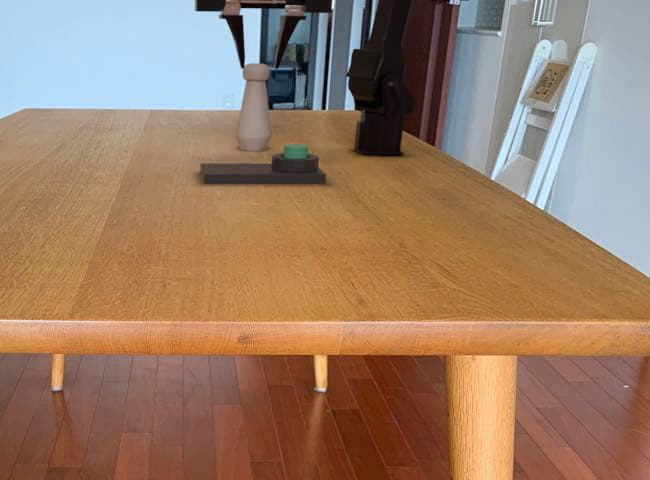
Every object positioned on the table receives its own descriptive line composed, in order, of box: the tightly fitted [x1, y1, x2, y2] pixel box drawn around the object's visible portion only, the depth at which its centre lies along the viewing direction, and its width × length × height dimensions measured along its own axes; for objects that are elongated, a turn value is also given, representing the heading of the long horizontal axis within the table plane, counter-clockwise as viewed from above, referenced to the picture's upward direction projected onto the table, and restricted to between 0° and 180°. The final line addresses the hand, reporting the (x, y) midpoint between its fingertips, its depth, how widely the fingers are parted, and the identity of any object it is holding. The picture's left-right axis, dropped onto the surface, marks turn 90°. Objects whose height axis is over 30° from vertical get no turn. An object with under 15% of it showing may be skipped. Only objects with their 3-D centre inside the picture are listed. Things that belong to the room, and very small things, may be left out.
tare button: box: [283, 143, 309, 159], centre depth 108 cm, size 3×3×2 cm
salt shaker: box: [235, 62, 272, 152], centre depth 130 cm, size 6×6×13 cm
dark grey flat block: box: [200, 152, 327, 185], centre depth 109 cm, size 16×8×3 cm, turn 93°
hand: (259, 68), depth 117 cm, fingers open, 5 cm apart
